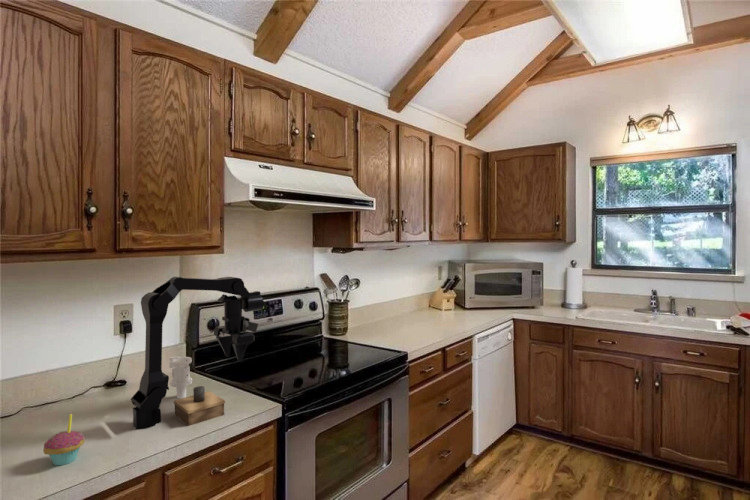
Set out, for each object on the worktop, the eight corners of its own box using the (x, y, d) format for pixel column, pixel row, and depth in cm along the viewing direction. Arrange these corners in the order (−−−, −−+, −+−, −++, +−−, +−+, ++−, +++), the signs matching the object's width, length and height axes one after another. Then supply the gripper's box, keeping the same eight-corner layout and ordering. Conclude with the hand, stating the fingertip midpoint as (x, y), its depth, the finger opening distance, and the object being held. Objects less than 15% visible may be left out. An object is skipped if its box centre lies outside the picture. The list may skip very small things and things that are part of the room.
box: (188, 428, 128) (188, 413, 128) (174, 417, 136) (174, 403, 136) (224, 417, 136) (224, 403, 136) (208, 407, 144) (208, 393, 143)
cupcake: (68, 450, 115) (67, 405, 115) (93, 455, 113) (92, 409, 112) (35, 467, 107) (33, 419, 107) (61, 472, 105) (59, 423, 104)
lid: (188, 413, 128) (187, 397, 127) (173, 403, 136) (173, 388, 135) (225, 403, 136) (224, 387, 135) (209, 393, 144) (208, 379, 144)
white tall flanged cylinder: (173, 396, 154) (172, 354, 153) (194, 394, 155) (193, 353, 155) (167, 403, 147) (166, 359, 146) (189, 402, 148) (189, 358, 148)
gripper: (268, 314, 147) (268, 360, 147) (242, 307, 160) (242, 349, 161) (237, 318, 139) (238, 367, 140) (212, 311, 152) (213, 355, 153)
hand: (233, 359), depth 148 cm, fingers open, 9 cm apart
